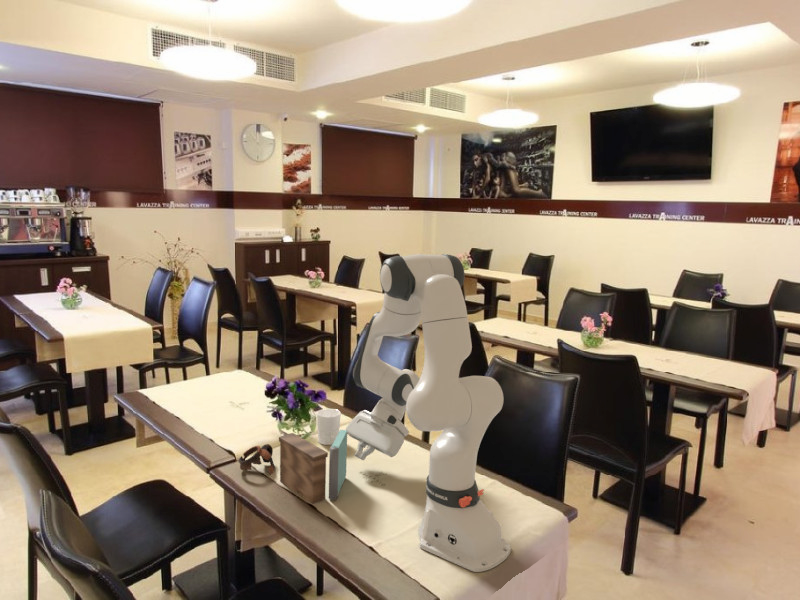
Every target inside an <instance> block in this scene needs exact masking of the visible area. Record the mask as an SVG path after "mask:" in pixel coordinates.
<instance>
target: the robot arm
mask: <svg viewBox="0 0 800 600" xmlns="http://www.w3.org/2000/svg"><path fill="white" fill-rule="evenodd" d="M464 268H465V267H464V265H463V263H462V261H461V260H460V258H459V257H458V256H455V255H451V254H445V253H442V254H433V253H432V254H429V253H428V254H426V253H425V254H424V253H414V254H408V255H395V256H392V257H391V256H390V257H389V258H386V259H385V260H384V261H383V263H382V265H381V267H380V270H379V280H380V286H381V288H382V291H383V292H384V295H383V303H382V307H381V310H380V311H377V312H376V313H374V314H373V316H372V317H371V319H370V321H369V324H368V326H367V329H366V332H365V335H364V339H363V341H362V345H361V349H360V351H359V356H358V358H357V360H356V362H355V364H354V366H353V370H352V377H353V381H354V383H355V385H356V386H357V387H359V388H361V389H364V390H366V391H367V390H368V391H369V392H371V393H373V394H375V395H377V396H379V397H381V398H380V399H379V400H378V402H377V403H376V404H375V406H374V408H373V409H372V411H371V412H370V411H369V410H366V409H364V410H361V411H359V412H358V413H357V415H356V416H355V417H353V419H352V420H350V422H349V423H348V424H347V426H346V427H345V430H347V436H349V437H350V438H352V439H355V440H357V441H358V443H357V450H356V451H355V452H354V456H355V457H356V458H357V459H359V460H361V461H365V460H366V458H367V457H368V456H369V455H371V454H372V453H374V452H375V450H376V451H378V452H380V453H382V454H384V455H386V456H387V457H389V458H393V457H395V456H396V455H397V454H399V452H400V450H401V448H402V446H403V445H404V442H405V437H407V436H408V435H409V433H410V431H409V429H408V428H407V427H406V425H404V424H403V422H402V419H403V418H404V415H405V413H406V415H407V417H408V420H409V422H410V424H411V426H413V427H414V428H415V429H416V430H418V431H421V432H441V433H440V435H438V437H437V438H436V439H435V440H434V441H433V442H432V444H431V446H430V449H429V463H428V464H429V465H428V475H427V478H426V482H425V483H426V484H425V494H426V502H425V508H424V513H423V517H422V520H421V523H420V526H419V529H418V535H419V537H420V541H419V548H420V549H421V550H424V551H426V552H428V553H430V554H433V555H435V556H438V557H439V558H442V559H444V560H446V561H448V562H450V563H452V564H455V565H457V566H460V567H461V568H464V569H466V570H469V571H471V572H474V573H481V572H485V571H489V570H491V569H493V568H495V567H497V566H499V565H500V564H501V563H503V562H504V561H505V560H506V559H507V558H508V557H509V556H510V554H511V551H512V550H511V544H510V543H509V541H506V540H505V539H504V538H503V537H502V530H501V525H500V523H499V521H498V520H497V519H496V518H495V517H494V514H493V512H492V511H491V510H489V508H488V507H487V506H486V505H485V504H484V503H483V501H482V500H481V496H482V495H484V490H485V489H483V488H482V489H481V490H479V488H478V484H477V480H476V470H477V469H476V468H477V460H478V459H477V458H478V452H479V448H480V445H481V442H482V440H483V438H484V435H485V433H486V431H487V430H488V428H489V426H490V424H491V422H492V421H493V419H494V418H495V417H496V416H497V415H498V414H499V413H500V412H501V410H502V409H503V407H504V406H503V405H504V393H503V390H502V387H501V385H500V384H499V382H498V381H497V380H496V379H494V377H491V376H485V375H484V376H483V375H470V376H469V375H468V376H463V377H460V371H461V367H462V365H463V363H464V361H465V360H466V359H467V358H468V357H469V356H470V355H471V354H472V348H473V346H472V345H473V344H472V337H471V330H470V329H471V328H470V324H469V316H468V311H467V305H466V301H465V297H464V294H463V290H462V286H463V284H464V281H465V276H466V275H465V269H464ZM420 323H421V326H422V336H423V337H422V338H423V347H424V360H423V361H424V362H423V368H422V371H421V375H420V376H419V375H418V374H417V373H415V372H414V371H413V370H411V369H407V368H405V369H401V368H398V367H396V366H393V365H391V364H389V363H388V362H385V361H383V360H382V359H381V358H380V357H379V351H380V348H381V345H382V342H383V338H384V337H401V336H402V337H403V336H405V335H408V334H411V333H412V332H414V331H415V330H416V329H417V328H419V325H420ZM364 448H365V449H364Z"/></svg>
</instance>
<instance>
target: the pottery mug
mask: <svg viewBox="0 0 800 600" xmlns="http://www.w3.org/2000/svg"><path fill="white" fill-rule="evenodd" d="M273 450H274V449H273V447H272V445H270V444H268V443H266V444H264V445H262V446H260V445H254V446H252V447H251V448H249V449H247V450H246V451H245V452H244V453H242V455H243V456H244V457H243V456H240V457H239V459H238V463H239V464H240V465H239V469H240V470H244V471H245V470H249V471H252V464H253V465H262V463H267V464H268V463H270V465H269V467H268V468H267V472H269V475H270V476H271V474H272V475H273V474H274V472H275V470H276V466H275V464H274V461H273V458H272V456H273V454H274V453H273V452H274V451H273ZM252 454H253V455H252ZM250 455H252V456H250ZM249 456H250V457H249ZM261 459H262V461H261Z"/></svg>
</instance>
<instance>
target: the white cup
mask: <svg viewBox="0 0 800 600" xmlns="http://www.w3.org/2000/svg"><path fill="white" fill-rule="evenodd" d="M341 415H342V413H341V411H340V410H338V409H336V408H323V409H319V410H318V411H317V412H316V428H317V430H316V431H317V441H318V443H319V444H320V445H322V446H323V445H324V446H332V444H333V443H334V441H335V439H336V437H337V435H338V433H339V431H340V428H341Z"/></svg>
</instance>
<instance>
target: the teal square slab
mask: <svg viewBox="0 0 800 600" xmlns="http://www.w3.org/2000/svg"><path fill="white" fill-rule="evenodd" d="M347 448H348V434H347V430H346V429H339V433H338V435H337V437H336V439H335V441H334V443H333V444H332V445H330V447H329V456H328V458H329V464H328V465H329V467H328V499H329V500H330V501H331V500H332V501H333V500H334V501H335V500H337V499H338V498H339V494H340V491H341V488H342V487H343V484H344V481H345V480H346V477H347V455H348V453H347V452H348V451H347V450H348V449H347Z"/></svg>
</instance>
